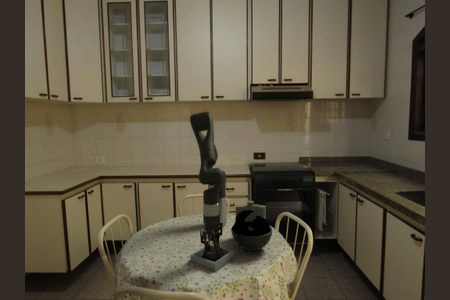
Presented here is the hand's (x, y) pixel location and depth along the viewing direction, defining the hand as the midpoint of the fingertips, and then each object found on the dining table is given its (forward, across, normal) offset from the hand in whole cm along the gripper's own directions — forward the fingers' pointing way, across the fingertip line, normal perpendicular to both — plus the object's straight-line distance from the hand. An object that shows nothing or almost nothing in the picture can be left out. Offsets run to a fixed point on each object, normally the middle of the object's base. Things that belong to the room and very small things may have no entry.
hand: (212, 248), depth 125 cm
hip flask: (+6, -31, +2) cm, 31 cm away
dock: (+5, 0, 0) cm, 5 cm away
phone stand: (+4, 0, 0) cm, 4 cm away
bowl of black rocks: (+6, -20, +9) cm, 23 cm away
